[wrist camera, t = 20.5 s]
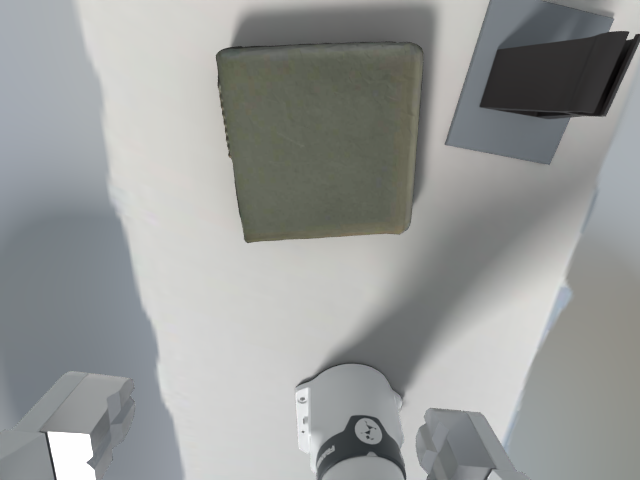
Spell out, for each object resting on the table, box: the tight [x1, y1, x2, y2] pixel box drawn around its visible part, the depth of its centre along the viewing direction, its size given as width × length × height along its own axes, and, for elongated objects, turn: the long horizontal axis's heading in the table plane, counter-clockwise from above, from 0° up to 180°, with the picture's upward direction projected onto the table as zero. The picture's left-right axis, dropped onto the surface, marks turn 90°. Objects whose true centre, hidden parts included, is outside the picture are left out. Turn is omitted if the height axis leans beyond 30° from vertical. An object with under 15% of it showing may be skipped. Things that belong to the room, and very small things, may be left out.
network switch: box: [216, 42, 423, 243], centre depth 37 cm, size 23×24×5 cm
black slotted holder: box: [479, 31, 640, 119], centre depth 31 cm, size 9×6×12 cm, turn 81°
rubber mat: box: [445, 0, 614, 165], centre depth 37 cm, size 16×14×1 cm
